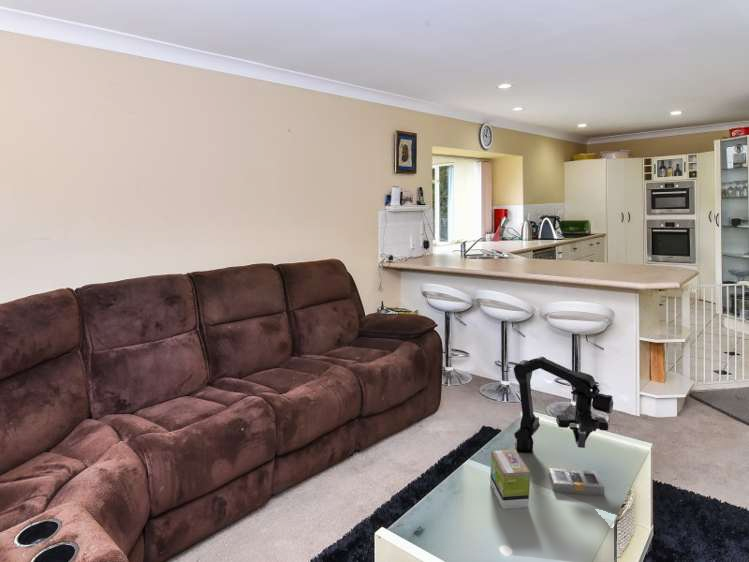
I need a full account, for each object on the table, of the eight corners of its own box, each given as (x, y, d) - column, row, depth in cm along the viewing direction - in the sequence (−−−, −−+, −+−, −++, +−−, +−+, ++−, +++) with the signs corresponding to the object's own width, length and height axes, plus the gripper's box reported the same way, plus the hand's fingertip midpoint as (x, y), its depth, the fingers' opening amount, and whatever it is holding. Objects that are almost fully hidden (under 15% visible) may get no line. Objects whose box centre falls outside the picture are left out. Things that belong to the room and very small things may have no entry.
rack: (553, 491, 189) (554, 483, 188) (548, 475, 199) (548, 467, 198) (603, 496, 186) (604, 487, 186) (596, 479, 196) (596, 471, 196)
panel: (578, 447, 200) (579, 433, 199) (575, 440, 205) (576, 427, 204) (584, 447, 200) (586, 434, 198) (581, 441, 205) (582, 427, 203)
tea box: (488, 484, 194) (490, 449, 191) (514, 482, 195) (516, 448, 192) (501, 509, 179) (504, 472, 176) (529, 508, 180) (531, 471, 177)
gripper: (563, 414, 192) (560, 450, 196) (614, 417, 190) (610, 454, 193) (557, 401, 203) (554, 436, 206) (605, 403, 200) (602, 439, 204)
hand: (580, 441), depth 202 cm, fingers closed on panel, 2 cm apart
